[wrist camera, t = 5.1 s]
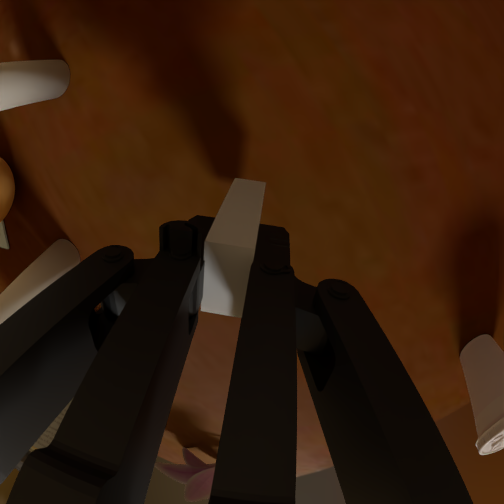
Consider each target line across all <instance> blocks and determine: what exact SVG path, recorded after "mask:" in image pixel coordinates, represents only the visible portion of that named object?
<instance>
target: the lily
mask: <svg viewBox="0 0 504 504" xmlns="http://www.w3.org/2000/svg"><path fill="white" fill-rule="evenodd" d="M182 451H183V457H184V460H185V463H186V464H187V465H183V464H166V463H159V462H155V465H154V466H155V467H156V468H157V469H158V470H159V471H161V472H162V473H164V474H165V475H167V476H168V477H170V478H171V479H173V480H175V481H177V482H179V483H183V484H186V486H185V491H184V497H185V500H186V501H188V502H195V501H200V500H204V499H207V498H208V499H209V498H210V493H211V488H212V482H213V476H214V471H215V465H216V463H213V464H205V463H204V462H203V461H201V460H200V459H199V458H198V457H196V456H195V455H194V454H193V453H191V452H190V451H189V450H188V449H187V448H185V447H183V449H182Z"/></svg>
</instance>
